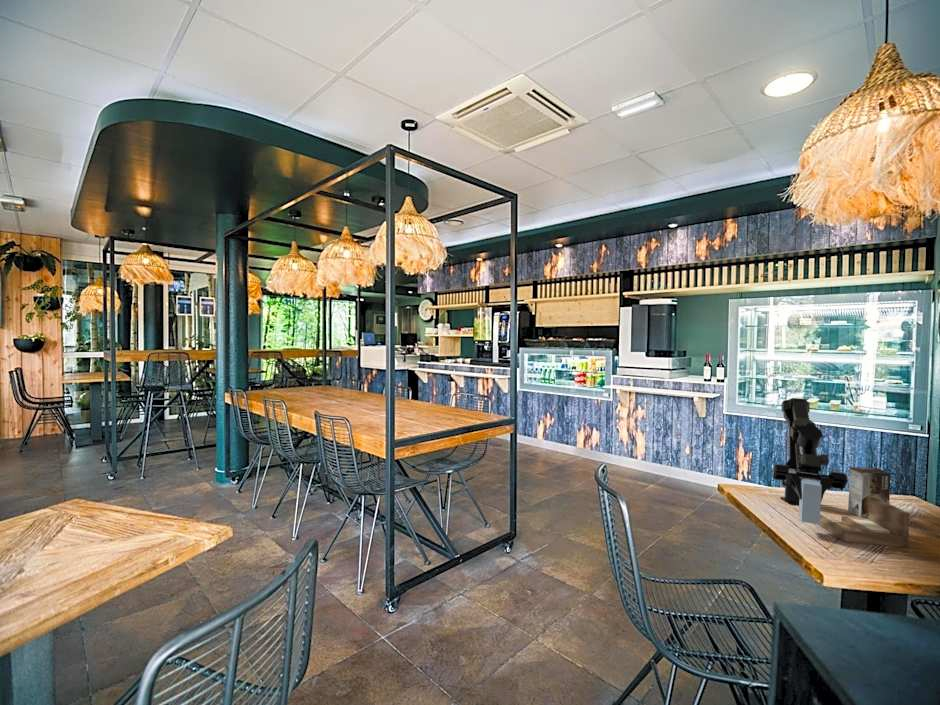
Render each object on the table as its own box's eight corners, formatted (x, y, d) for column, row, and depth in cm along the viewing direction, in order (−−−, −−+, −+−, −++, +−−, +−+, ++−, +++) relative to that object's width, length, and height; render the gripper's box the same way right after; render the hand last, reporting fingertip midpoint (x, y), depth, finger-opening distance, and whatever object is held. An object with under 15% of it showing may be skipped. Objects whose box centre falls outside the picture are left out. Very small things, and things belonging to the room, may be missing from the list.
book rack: (816, 523, 148) (817, 493, 148) (872, 527, 146) (874, 497, 146) (845, 542, 135) (847, 509, 134) (907, 546, 133) (909, 513, 132)
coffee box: (874, 512, 160) (876, 467, 159) (889, 519, 153) (892, 473, 153) (846, 510, 160) (849, 466, 160) (860, 518, 154) (863, 471, 153)
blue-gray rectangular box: (798, 514, 144) (800, 478, 144) (816, 517, 142) (818, 480, 141) (801, 521, 139) (803, 483, 138) (819, 524, 137) (821, 486, 136)
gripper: (775, 439, 147) (777, 481, 138) (848, 447, 138) (855, 493, 129) (771, 457, 155) (773, 499, 145) (840, 466, 146) (847, 511, 136)
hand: (810, 500), depth 139 cm, fingers closed on blue-gray rectangular box, 4 cm apart
